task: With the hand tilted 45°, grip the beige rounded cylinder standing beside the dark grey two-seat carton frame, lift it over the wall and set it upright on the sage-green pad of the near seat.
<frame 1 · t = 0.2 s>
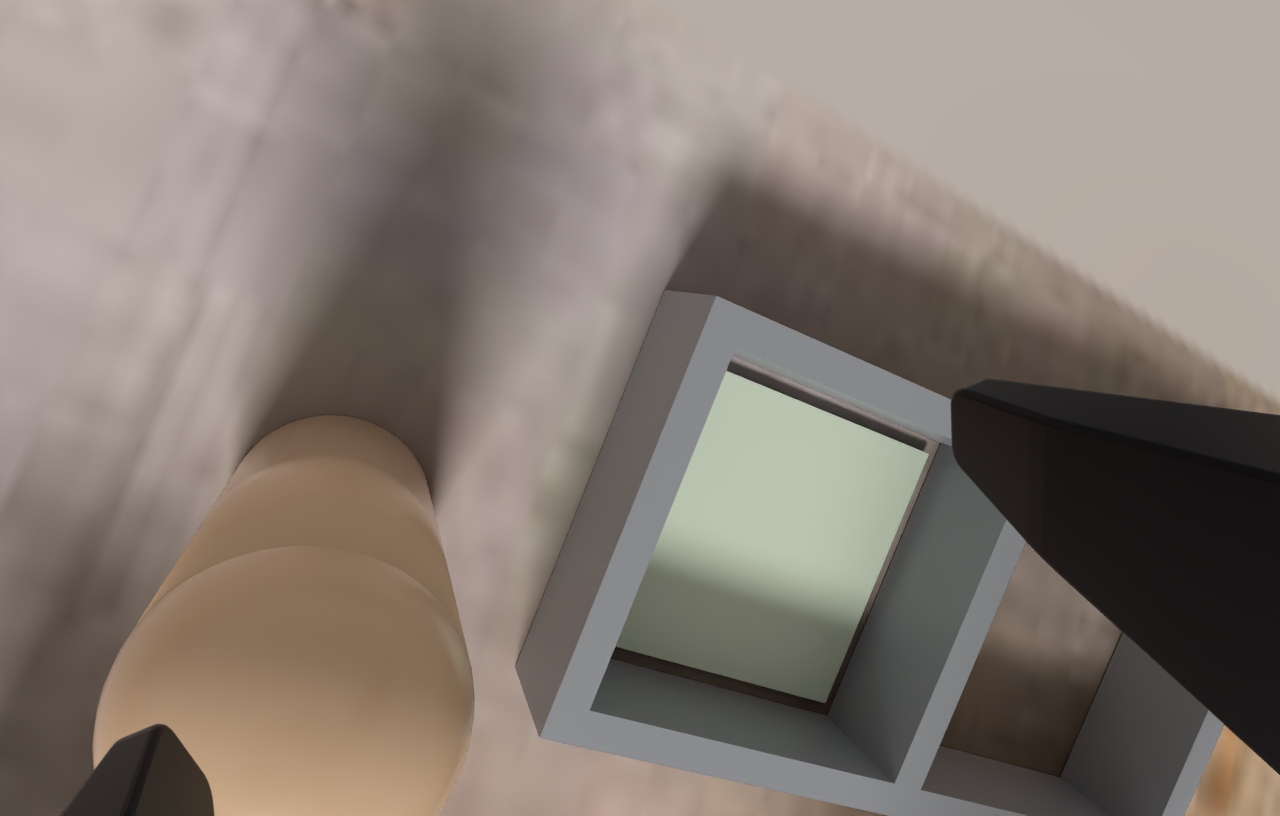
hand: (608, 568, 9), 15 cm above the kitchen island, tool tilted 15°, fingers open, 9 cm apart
carton frame: (895, 584, 29), on the kitchen island
beige rounded cylinder: (331, 509, 23), on the kitchen island
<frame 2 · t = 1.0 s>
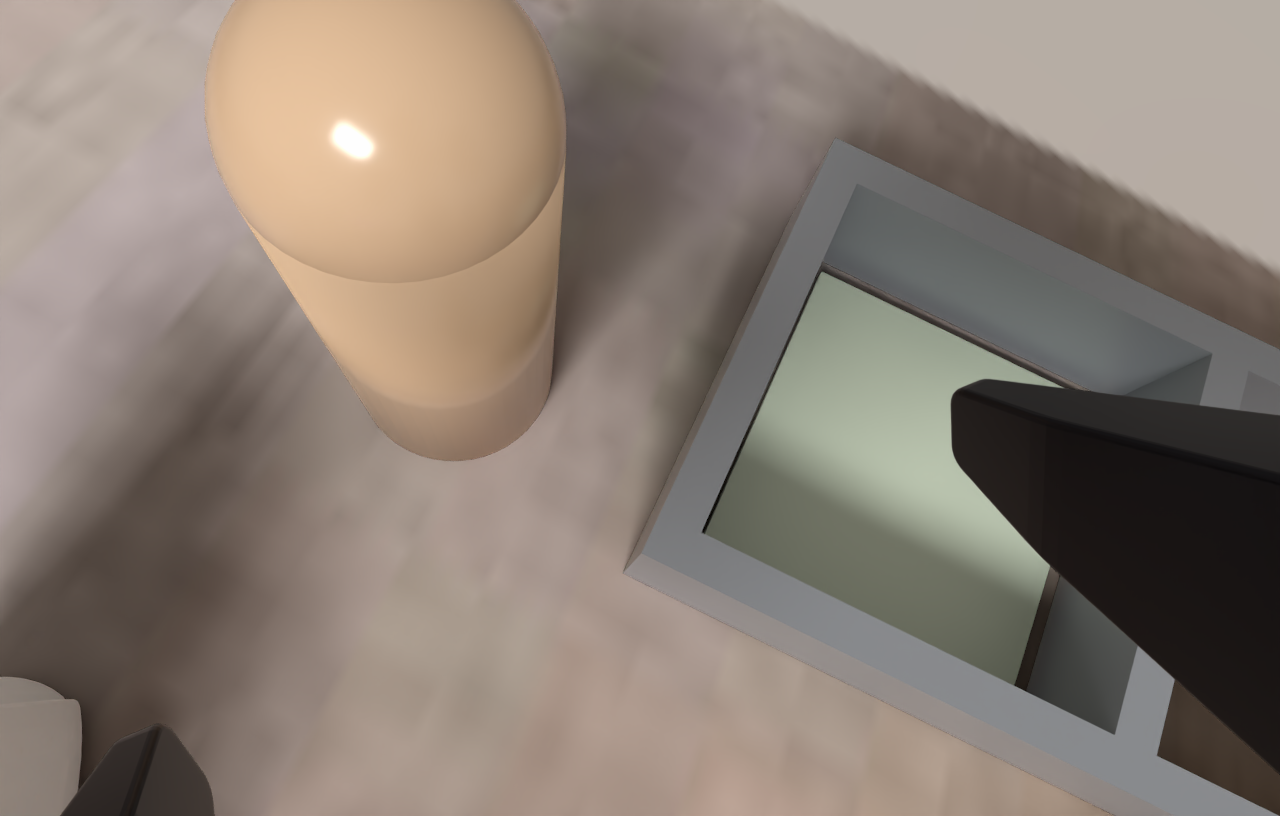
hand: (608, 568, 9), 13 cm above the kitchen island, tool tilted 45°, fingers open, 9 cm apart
carton frame: (1083, 559, 24), on the kitchen island
beige rounded cylinder: (456, 368, 23), on the kitchen island
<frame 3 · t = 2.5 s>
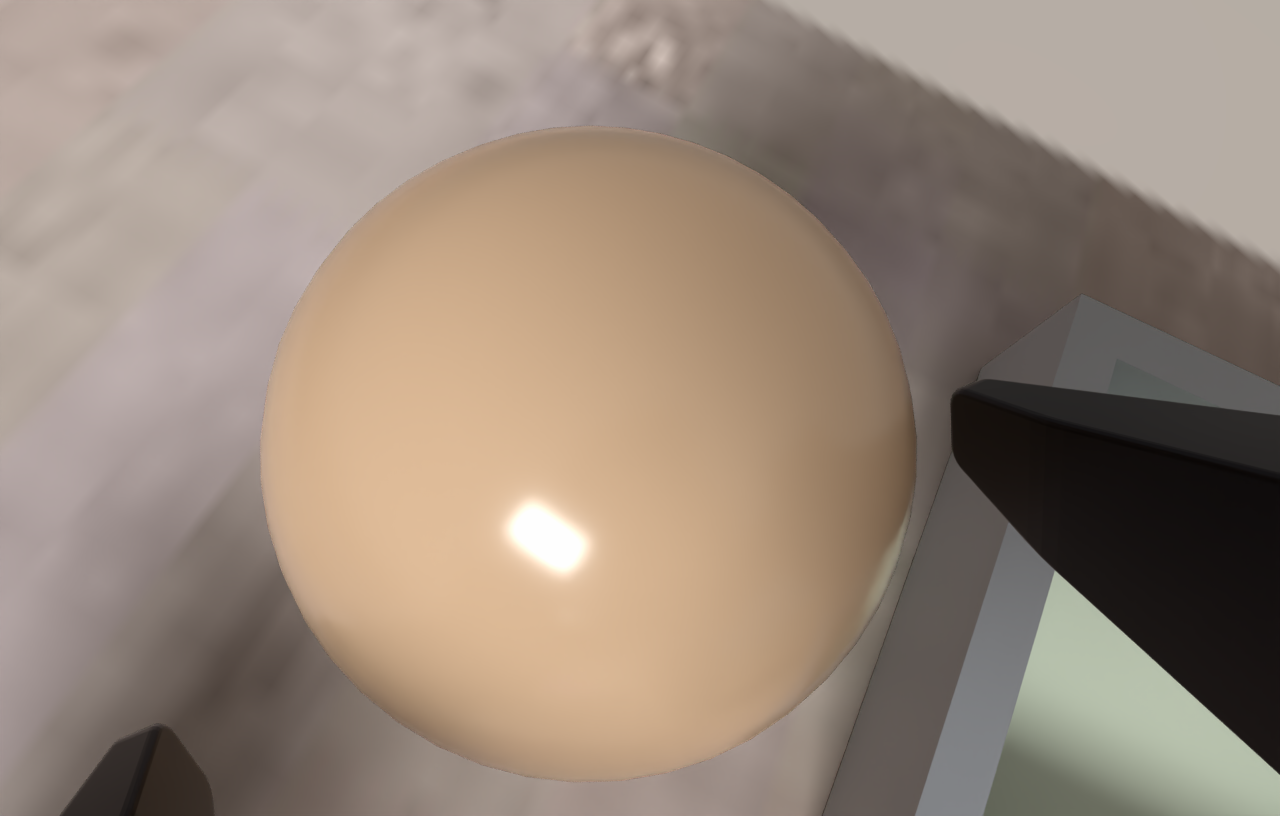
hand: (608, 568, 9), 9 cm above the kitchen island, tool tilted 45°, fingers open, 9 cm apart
beige rounded cylinder: (563, 592, 18), on the kitchen island
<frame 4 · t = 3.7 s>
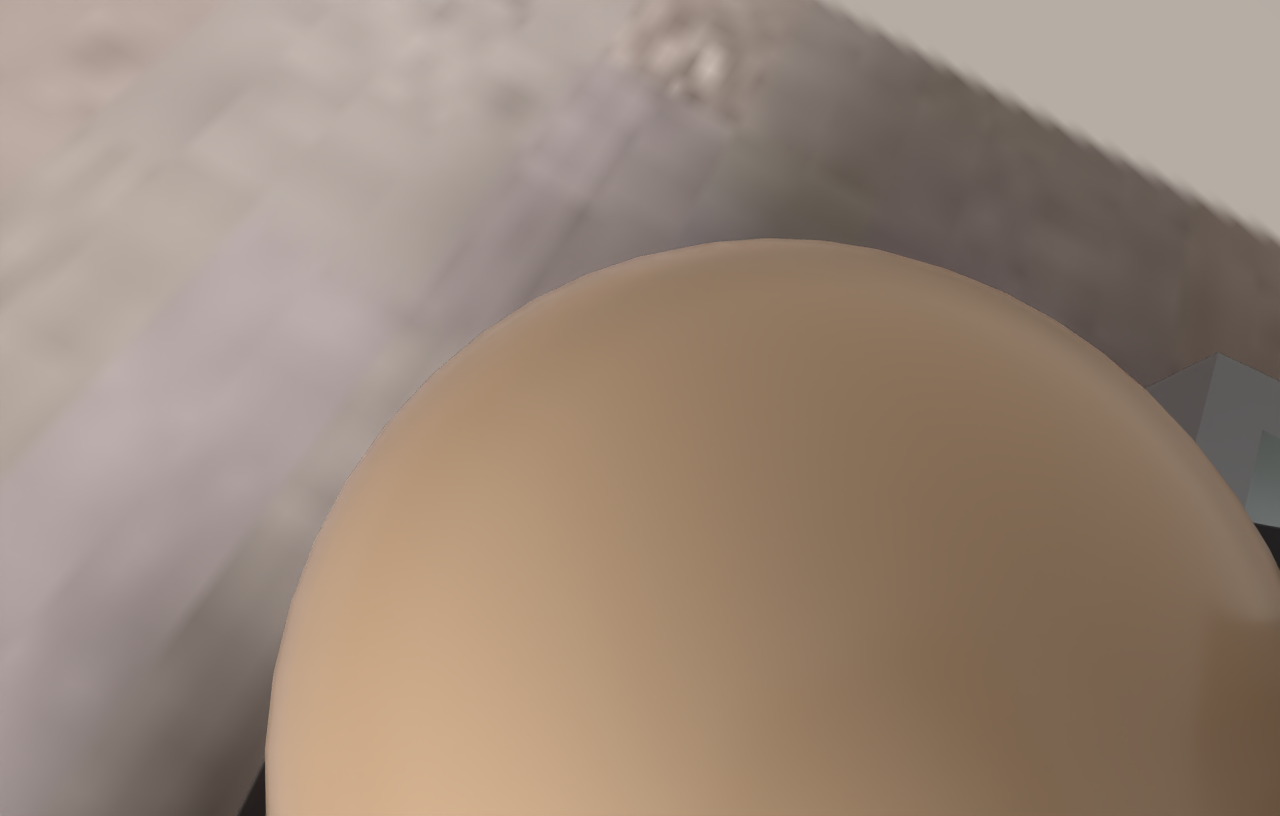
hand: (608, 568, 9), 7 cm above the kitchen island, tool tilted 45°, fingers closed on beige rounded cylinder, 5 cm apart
beige rounded cylinder: (610, 690, 15), on the kitchen island, touching gripper
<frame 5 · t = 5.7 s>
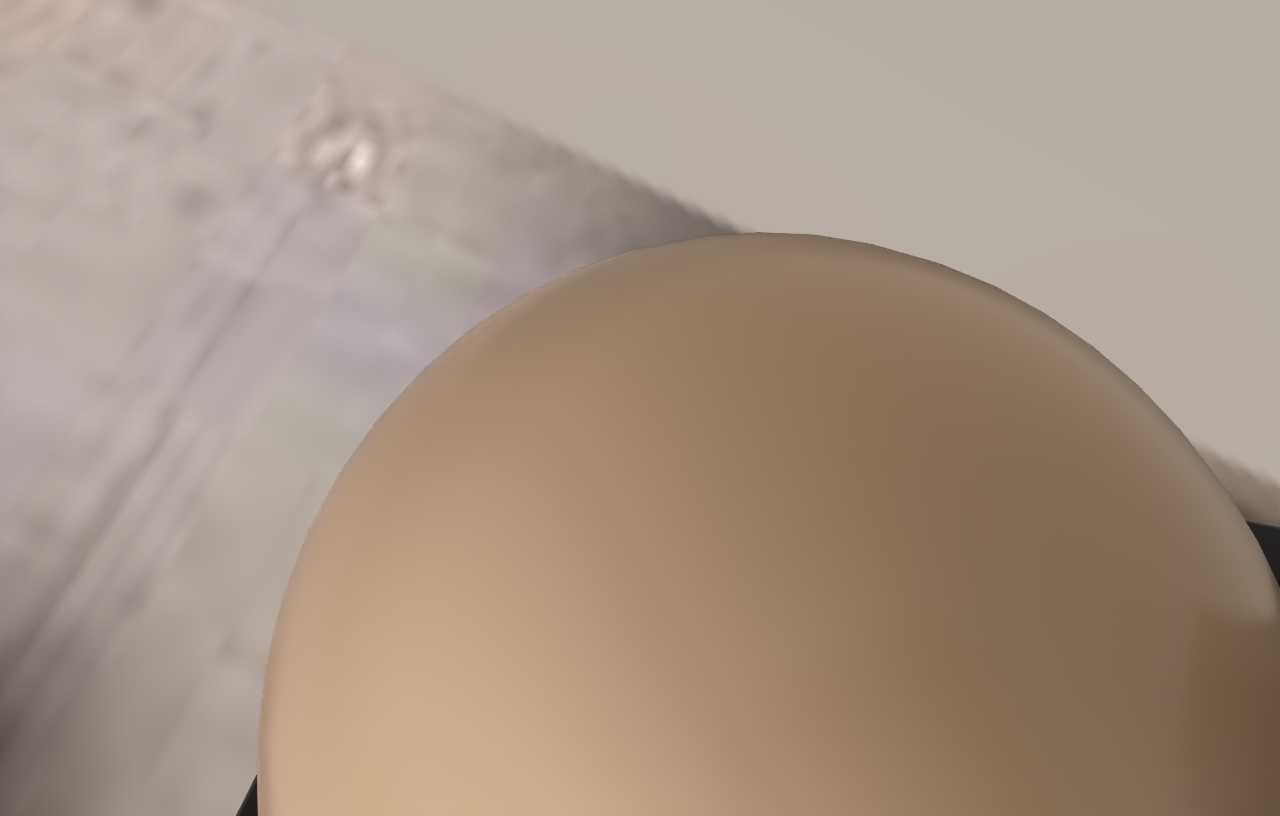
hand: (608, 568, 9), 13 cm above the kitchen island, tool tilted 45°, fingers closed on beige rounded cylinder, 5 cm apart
beige rounded cylinder: (607, 688, 15), point 6 cm above the kitchen island, touching gripper
when the fingers open (8 cm above the kitchen island, at t = 7.8 s): beige rounded cylinder stays where it is, resting on carton frame.
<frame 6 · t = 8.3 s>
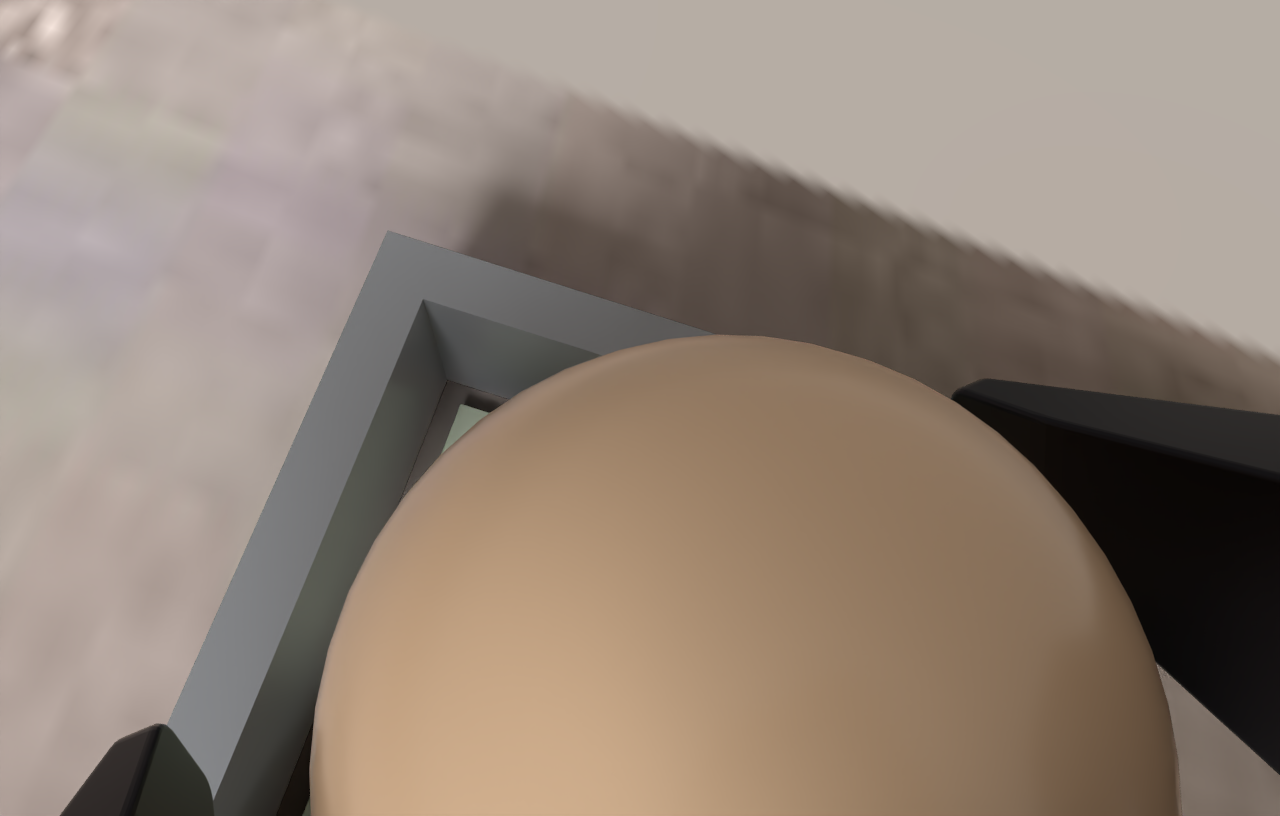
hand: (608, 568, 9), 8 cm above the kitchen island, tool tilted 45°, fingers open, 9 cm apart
carton frame: (875, 773, 17), on the kitchen island
beige rounded cylinder: (602, 693, 16), resting on carton frame
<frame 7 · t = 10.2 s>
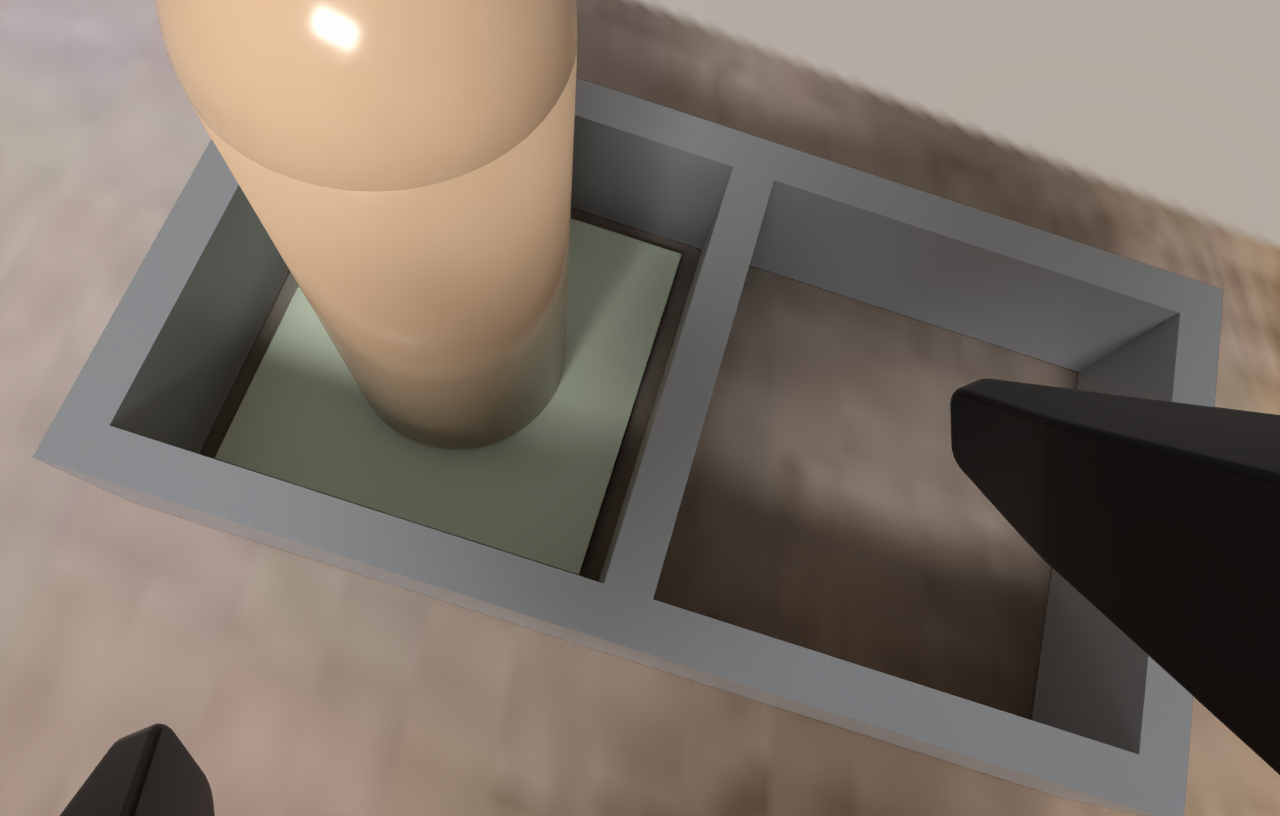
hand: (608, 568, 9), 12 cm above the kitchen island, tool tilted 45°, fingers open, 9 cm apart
carton frame: (669, 419, 22), on the kitchen island
beige rounded cylinder: (461, 350, 22), resting on carton frame
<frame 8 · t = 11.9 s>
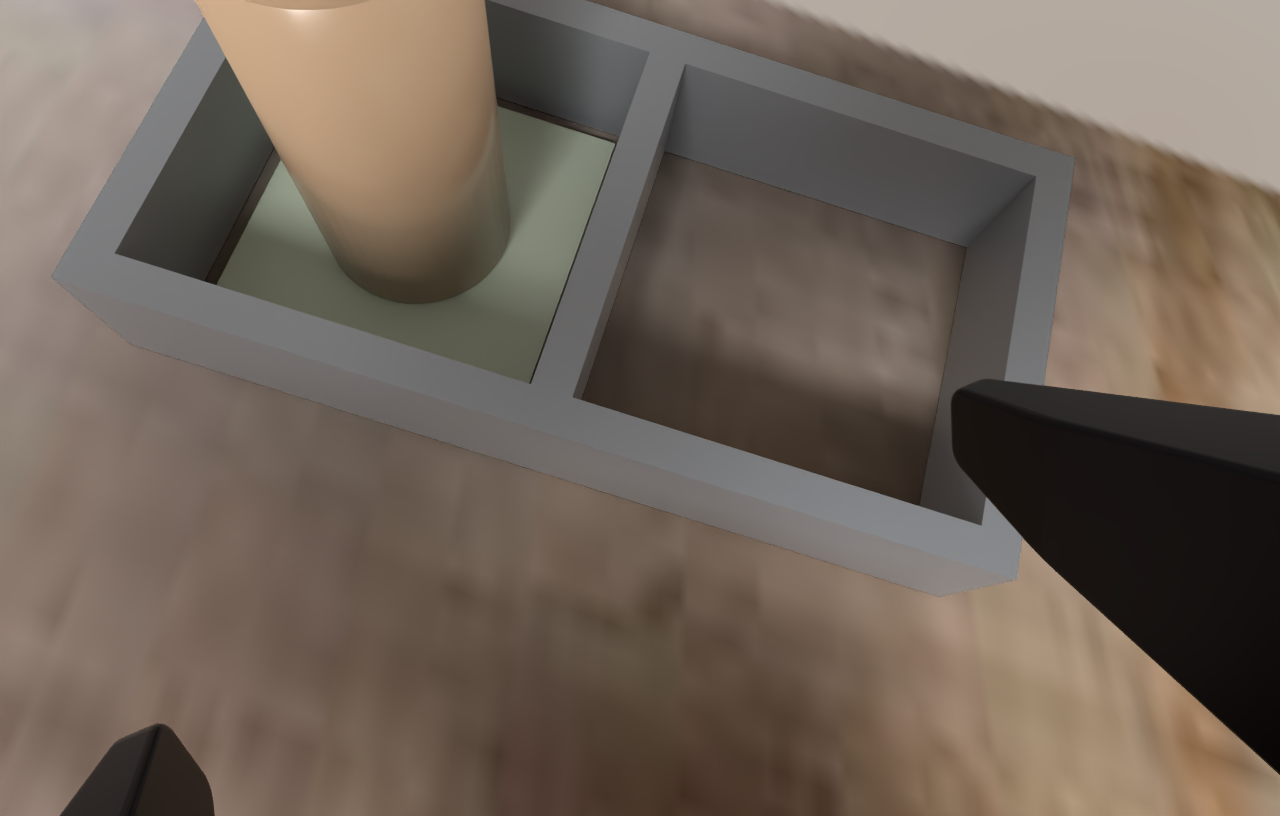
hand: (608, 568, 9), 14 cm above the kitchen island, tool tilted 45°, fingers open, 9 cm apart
carton frame: (602, 282, 25), on the kitchen island
beige rounded cylinder: (419, 221, 25), resting on carton frame
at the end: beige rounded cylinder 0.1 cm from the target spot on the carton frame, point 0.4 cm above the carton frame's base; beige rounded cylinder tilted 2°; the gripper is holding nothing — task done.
